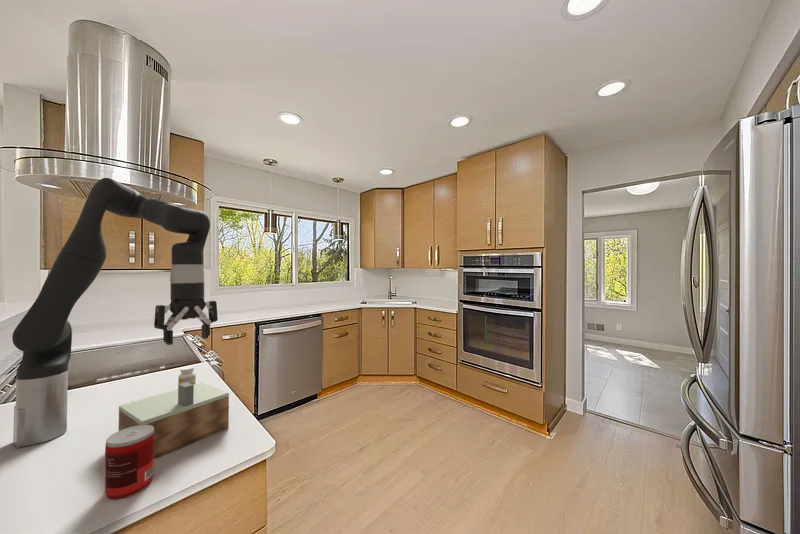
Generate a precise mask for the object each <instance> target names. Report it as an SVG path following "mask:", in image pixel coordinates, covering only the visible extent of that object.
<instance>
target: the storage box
mask: <svg viewBox="0 0 800 534" xmlns="http://www.w3.org/2000/svg"><path fill="white" fill-rule="evenodd" d="M229 407H230V395H229V396H228V397H225V398H222V399H219V400H216V401H213V402H210V403H207V404H204V405H201V406H199V407H196V408H193V409H190V410H187V411H184V412H181V413H178V414H175V415H172V416H169V417H166V418H163V419H160V420H157V421H154V422H151V423H148V424H146V425H151V426H153V427H154V461H155V460H157V459H159V458H161V457H164V456H166V455H168V454H171V453H173V452H176V451H178V450H181V449H182V448H185V447H187V446H189V445H193V444H194V443H196V442H199V441H202V440H204V439H206V438H208V437H211V436H213V435H215V434H218V433H220V432H222V431H224V430H227V429H229V427H230V426H229V425H230V424H229V422H230V421H229V418H230V417H229V416H230V415H229V413H230V411H229V410H230V409H229ZM138 425H140V424H139V423H137V422H136V421H135V420H133V419H132V418H130V417H129V416H127V415H126V414H124V413H123V412H122V411H120V410H119V409H118V431H120V430H123V429H126V428H129V427H133V426H138Z"/></svg>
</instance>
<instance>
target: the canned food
mask: <svg viewBox="0 0 800 534" xmlns="http://www.w3.org/2000/svg"><path fill="white" fill-rule="evenodd" d="M104 454H105V455H104V457H105V458H104V461H105V462H104V463H105V464H104V493H105V496H106V497H107V498H108V499H110V500H119V499H121V500H122V499H125V498H129V497H131V496H133V495H135V494H137V493H139V492H141V491H143V490H144V489H145V488H147V487H148V486H149V485H150V484H151V483H152V480H153V479H154V473H155V472H154V470H155V469H154V465H155V462H154V461H155V460H154V427H153V426H151V425H138V426H133V427H129V428H126V429H123V430H120V431H119V430H118V431H117V432H114V433H112V434H111V435H109V436H108V437H107V438H106V441H105V450H104Z"/></svg>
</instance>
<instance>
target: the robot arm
mask: <svg viewBox="0 0 800 534" xmlns="http://www.w3.org/2000/svg"><path fill="white" fill-rule="evenodd" d="M106 211H107V212H110V213H112V214H114V215H116V216H119V217H120V216H121V217H126V218H134V219H142V220H145V221H147V222H148V223H149V222H150V223H151V224H154V225H158V226H161V227H162V228H163V229H164V230H166V231H168V232H171V233H175V234H181V235H188V238H187V240H186V241H185V242H176V243H174V244H173V245H172V247H171V267H170V268H171V269H170V276H169V277H170V278H169V281H170V303H169V305H167V304H166V305H163V304H157V305H155V308H154V309H155V311H154V324H153V325H154V326H153V328H155V329H157V330H162V332H163V334H162V335H163V343H164V344H166V345H167V346H171V345H173V344H174V332H173V330H174V329H173V328H174V327H175V326H176V325H177V324H178V323H179V322H180V320H182V321H184V320H189V319H197V320H199V321H200V323H202V325H201V338H202V339H204V340H206V339H209V337H210V335H211V324H212V323H214V322H215V323H216V322H217V321H218V320H219V319H218V317H219V316H218V308H217V307H218V305H217V301H216V300H208V301H205V270H204V248H205V245H206V242H207V239H208V235H209V233H210V228H211V222H210V218H209V216H208V215H207V214H206V212H204V211H202V210H198V209H194V208H193V209H192V208H187V207H183V206H178V205H176V204H174V203H171V202H170V201H169V202H168V201H165V200H163V199H158V198H157V199H156V198H147V196H146V197H145V196H144V195H143V194H141V193H139V192H138V190H137V191H136V190H135V189H133V188H131V187H129V186H127V185H125V184H123V183H120V182H119V181H117V180H114V178H113V179H112V178H110V177H104V178H100V179H99V180H98V181H96V183H95V184H94V185H93V186H92V188H91V190H90V191H89V194H88V196H87V197H86V201H85V203H84V205H83V207H82V210H81V213H80V215H79V217H78V220H77V222H76V224H75V226H74V228H73V229H72V232H70V235H69V236H68V238H67V240H66V241H65V243H64V245H63V247H62V248H61V250H60V252H59V253H58V255H57V257H56V259H55V260H54V263H52V267H51V269H50V271H49V273H48V275H47V276H46V278H45V281H44V283H43V285H42V287H41V290H40V292H39V294H38V296H37V298H36V299H35V301H34V302H33V303H32V305H31V306H30V307H29V309H28V310H27V312H26V313H25V315H24V316H23V317H22V319H21V320H20V321H19V322H18V324H17V325H16V326H15V328H14V330H13V333H12V335H11V336H12V338H11V339H12V344H13V345H14V347H16V348H17V349H18V350H19V351H21V352H22V359H21V361H20V363H19V364H18V367H17V369H16V371H15V372H16V375H15V376H16V377H15V378H16V379H15V381H16V383H15V405H14V406H13V429H12V430H13V434H12V436H13V439H12V442H13V444H14V446H15V447H16V449H19V448H21V447H27V446H28V447H29V446H32V445H37V444H41V443H45V442H48V441H51V440H54V439H55V438H58V437H60V436H62V435H64V434H65V433H66V432H67V431H68V429H67V428H68V395H69V394H68V390H69V389H68V386H69V385H68V384H69V383H68V382H69V364H70V360H71V356H72V344H73V343H72V342H73V329H72V328H73V327H72V324H71V323H70V321H69V320H68V319H69V317H70V315H71V313H72V310H73V308H74V306H75V305H76V303H77V302H78V300H79V299H80V298H81V297H82V296H83V294H84V293H85V292H86V291H87V290H88V288H89V287H90V286H91V285H92V284H93V283H94V281H95V279H96V278H97V276H98V275H99V273H100V271H101V269H102V268H103V266H104V263H105V261H106V259H107V248H106V245H105V244H106V243H105V239H104V236H103V232H102V222H103V218H104V215H105V213H106ZM205 307H206V309H207V310H208V316H207V314H205V312H204V311H203V310H204V309H205ZM168 311H170V312H171V315H170V316H169V317H168V319H167V320H166V322H165V318H166V317H165V316H166V315H165V314H167V313H168Z"/></svg>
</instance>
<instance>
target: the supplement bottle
mask: <svg viewBox="0 0 800 534" xmlns="http://www.w3.org/2000/svg"><path fill="white" fill-rule="evenodd" d="M194 369H195V368H194V366H185V367H182V368H180V373H181V374H179V375H178V382H177V383H178V384H181V383H185V382H188V383H190V384H193V385H195V384H197V381H196V380H197V376H196V375H197V374H196V373H195V372H194V371H195V370H194ZM178 384H177V385H178Z"/></svg>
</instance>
